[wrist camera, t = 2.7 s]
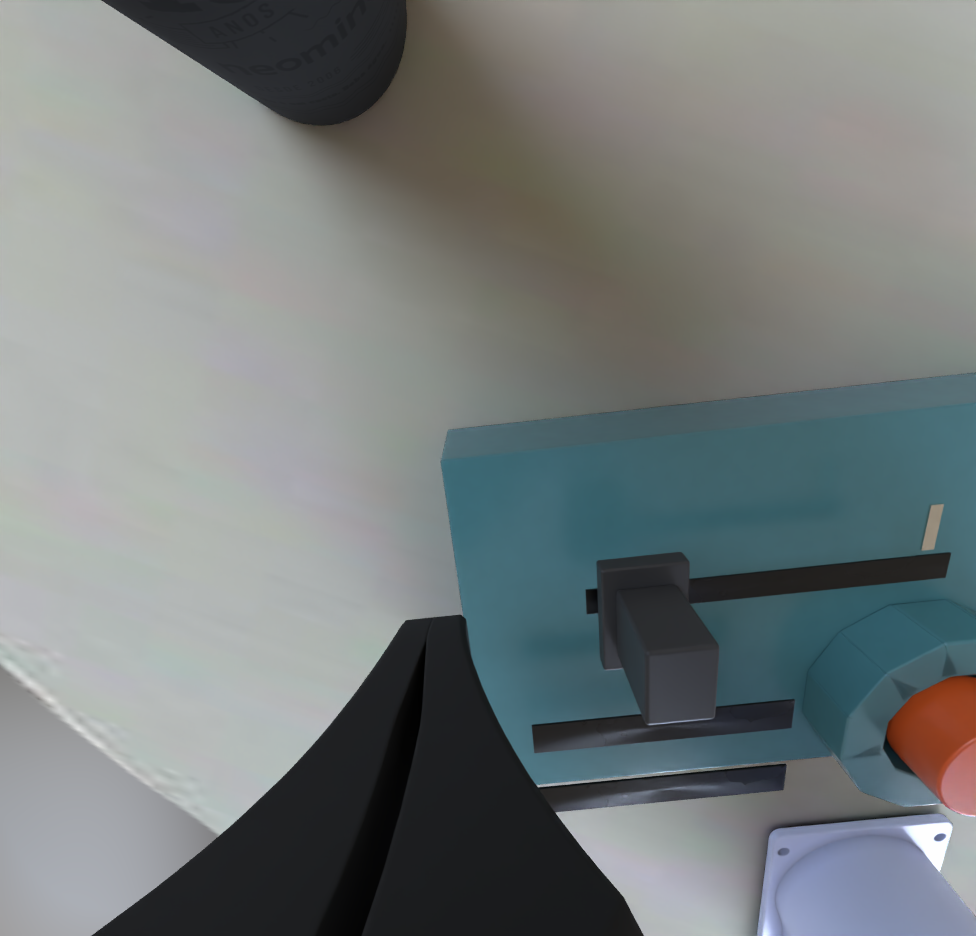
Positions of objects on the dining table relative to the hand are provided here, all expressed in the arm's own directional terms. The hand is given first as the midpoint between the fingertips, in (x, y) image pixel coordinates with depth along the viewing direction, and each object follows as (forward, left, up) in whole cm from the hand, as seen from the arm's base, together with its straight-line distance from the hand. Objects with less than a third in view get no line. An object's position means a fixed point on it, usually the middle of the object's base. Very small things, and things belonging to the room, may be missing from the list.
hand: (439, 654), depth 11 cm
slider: (0, -5, -1) cm, 5 cm away
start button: (-6, -14, -2) cm, 15 cm away
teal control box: (-3, -9, -6) cm, 12 cm away
